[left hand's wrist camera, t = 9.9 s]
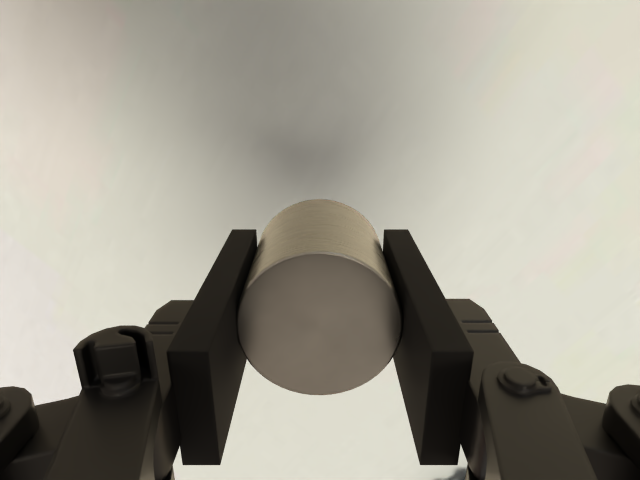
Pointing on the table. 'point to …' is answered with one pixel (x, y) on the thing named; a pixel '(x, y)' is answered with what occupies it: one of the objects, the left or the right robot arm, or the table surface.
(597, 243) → the table surface
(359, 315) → the tin
